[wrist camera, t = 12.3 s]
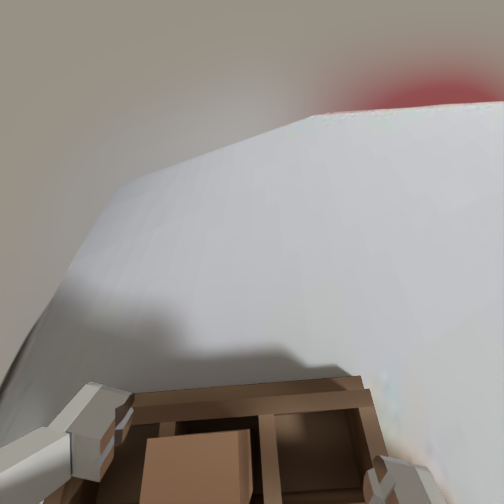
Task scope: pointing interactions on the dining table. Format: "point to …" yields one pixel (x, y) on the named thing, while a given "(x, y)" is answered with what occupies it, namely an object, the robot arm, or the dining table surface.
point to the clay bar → (200, 468)
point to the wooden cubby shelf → (255, 440)
